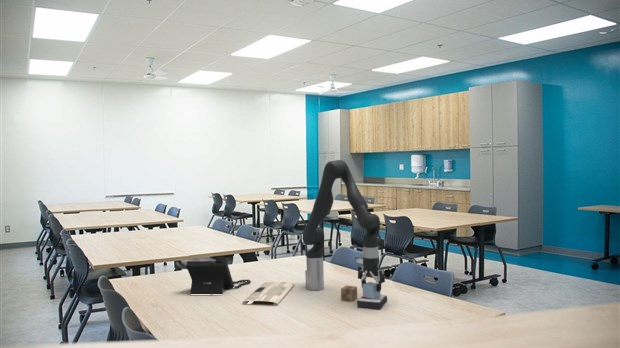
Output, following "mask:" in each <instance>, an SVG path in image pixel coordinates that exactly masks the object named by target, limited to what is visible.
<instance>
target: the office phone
mask: <svg viewBox="0 0 620 348" xmlns="http://www.w3.org/2000/svg"><path fill="white" fill-rule="evenodd" d="M185 265H186V269H187V273H188V274H189V276H190V279H191V284H190V286H191V287H190V294H224V289H233V287H234V288H236V289H239V287H240V288H241V287H242V285H243V286H246V285H245V284H247V285H250V284H251V282H252V281H251V280H250V279H240V280H236V281H234V280H233V277H232V275H231V270H230V268H229V267H230V266H229V264H228V261H227V258H226V257H224V256H218V257H216V258H215V260H214V261H213V260H199V261H197V260H193V261H192V260H191V261H190V260H189V261H186V264H185ZM242 281H243V282H242ZM245 281H247V282H245ZM239 282H240V283H239ZM234 283H237V285H235V284H234Z"/></svg>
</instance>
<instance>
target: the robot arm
mask: <svg viewBox="0 0 620 348" xmlns="http://www.w3.org/2000/svg"><path fill="white" fill-rule="evenodd" d="M339 179H340V180H341V181H342V182H343V184H344V186H345V189H346V196H347V200H348V202H349V204H350V207H352V209H353V211H354V213H355V215H356V218H357V222H358V224H359V226H360V227H361V228H362V229H364V230H366V233H365V234H364V235H363V237H362V265H359V266H358V267H357V279H358V280H359V279H360V281H361V289H363V284H365V283H367V280H366V279H367V278H371V279H373V280H374V281H375V283H377V292H379V291H380V292H381V291H382V284H383V283H385V282H386V278H385V269H379V266H380V264H379V263H380V261H379V258H380V257H379V254H380V253H379V244H378V243H379V241H378V238H379V237H378V236H379V233H380V228H381V220H380V217H379V216H378V215H377V214H376V213H368V209H369V204H368V202H366V199H365V198H364V197H363V195H362V194H361V192H360V190H359V187H358V186H357V184H356V181H355V179H354V177H353V174H352V172H351V169H350V168H349V166H348V164H347V163H346V161H345V160H343V159H336V160H331V161H330V160H329V161H328V162H326V164H325V165H324V168H323V172H322V177H321V181H320V185H319V188H318V192H317V195H316V197H315V200H314V202H313V208H312V211H311V213H310V216H309V218H308V221H307V223H306V224H305V226H304V229H303V232H302V238H301V239H302V241H303V244H304V245H307V246H312V247H311V248H310V249H309V250H307V251H306V253H305V257H306V258H305V261H306V265H305V266H306V270H304V271H305V273H304V274H305V276H304V277H305V288H306V289H307V290H309V291H321V290H324V288H325V279H324V278H325V274H324V252H325V232H324V229H323V228H322V227H320V224H321V222H323V221H324V220H325V219H326V218H327V216H329V214H330V213H331V210H332V208H333V205H334V195H333V186H334V184H335V181H336V180H339Z"/></svg>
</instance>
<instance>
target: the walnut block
mask: <svg viewBox="0 0 620 348" xmlns="http://www.w3.org/2000/svg"><path fill="white" fill-rule="evenodd" d="M340 300H341V301H344V302H350V303H353V302H355V301H357V300H358V286H355V285H354V286H353V285H344V286H343V287H341V288H340Z"/></svg>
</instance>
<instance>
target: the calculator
mask: <svg viewBox="0 0 620 348" xmlns="http://www.w3.org/2000/svg"><path fill="white" fill-rule="evenodd" d="M380 295H381V296H380V297H377V298H375V299H371V298H366V297H363V295H362V296H361V297H360V298H359V299H357V300H356V304H357V305H356V308H357V309H365V310H376V311H381V309H383V307H384V306H385V305H386V303H387V302H388V295H387V294H382V293H380Z"/></svg>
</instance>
